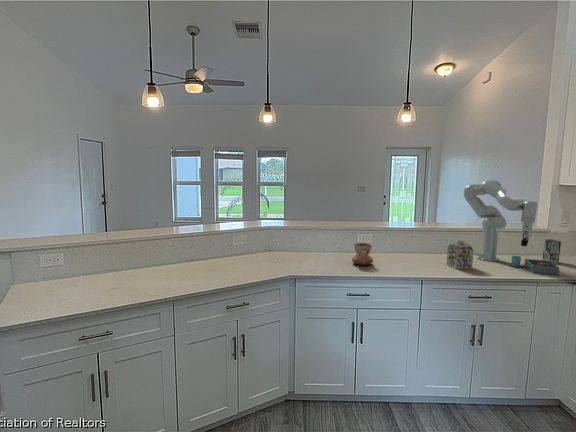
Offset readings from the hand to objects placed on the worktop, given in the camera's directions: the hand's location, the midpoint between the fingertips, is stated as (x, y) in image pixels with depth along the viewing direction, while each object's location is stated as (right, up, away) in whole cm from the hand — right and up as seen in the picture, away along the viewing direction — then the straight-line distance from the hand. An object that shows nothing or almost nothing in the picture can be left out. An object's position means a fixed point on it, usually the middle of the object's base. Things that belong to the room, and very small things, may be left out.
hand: (524, 244), depth 224 cm
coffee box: (+31, -14, +17) cm, 38 cm away
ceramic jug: (-107, -15, +12) cm, 109 cm away
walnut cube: (+6, -16, -8) cm, 19 cm away
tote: (+8, -17, -4) cm, 19 cm away
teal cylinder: (-2, -16, +5) cm, 17 cm away
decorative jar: (-42, -16, +5) cm, 45 cm away
